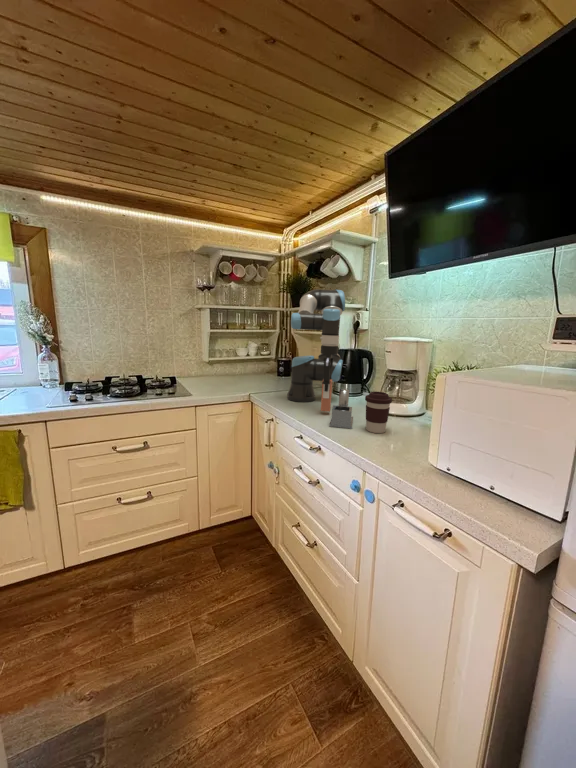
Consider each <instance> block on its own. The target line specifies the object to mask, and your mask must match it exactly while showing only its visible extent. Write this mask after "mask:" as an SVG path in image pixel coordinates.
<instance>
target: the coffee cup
mask: <svg viewBox="0 0 576 768" xmlns="http://www.w3.org/2000/svg"><path fill="white" fill-rule="evenodd" d="M364 400H365V402H366V404H365V423H366V424H365V429H366V431H367V432H369V433H374V434H384V433H385V432H386V428H387V423H388V420H389V414H390V408H391V407H390V404H392V401H393V399H392V397H391V396H389V394H388V393H386V392H385V391H384V392H383V391H370V392H369V394H367V395H365V398H364Z"/></svg>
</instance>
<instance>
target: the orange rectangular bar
mask: <svg viewBox="0 0 576 768" xmlns="http://www.w3.org/2000/svg"><path fill="white" fill-rule="evenodd" d="M322 382H323V381H321V384H322ZM323 386H324V384H322V385H321V401H320V411H321V412H330V411H331V410H332V409H331V408H332V391H333V382H332V379H330V390H329V399H328V398H323Z"/></svg>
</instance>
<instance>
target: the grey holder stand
mask: <svg viewBox="0 0 576 768" xmlns="http://www.w3.org/2000/svg"><path fill="white" fill-rule="evenodd" d="M349 396H350V390H349V389H345V388H342V389H339V393H338V397H339V398H338V405H334V404H333V406H332V409H331V418H330V420H329V424H328V425H329V427H331V428H341V429H350V430H352V429H353V424H354V423H353V422H354V416H352V412H353V406H349V398H350V397H349Z"/></svg>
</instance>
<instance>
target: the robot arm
mask: <svg viewBox="0 0 576 768" xmlns="http://www.w3.org/2000/svg"><path fill="white" fill-rule="evenodd" d="M345 297H346V296H345V292H344V291H343V290H341V289H318V288H317V289H312V290H310V291H307V292H306V293H304V294H303V295H302V296H301V298H300V300H299V309H298V311H297V312H293V313H291V318H290V327H291V329H292V330H298V331H301V330H304V331H305V330H310V331H321V336H320V337H319V339H320V341H321V346H320V354H318V356H317V357H318V358H315V356H314V355H300V356H294V357H293V358H292V360H291V375H290V377H291V379H290V386H289V389H288V392H287V397H286V398H287V400H289V401H291V402H296V403H297V402H298V403H305V402H306V403H309V402H314V401H315V400H316V393H315V389H314V385H313V383H314V381H315V382H316V381H317V382H321V384H324V386H323V398H328V399H329V390H330V379H332V383H333V382H335V383H336V382H338V381H340V379H341V373H342V367H343V362H344V360H343V359H341V356H340V354H339V353H338V352H339V341H340V323H341V315H342V314H343V312H345V310H346V298H345ZM314 311H321V313H314ZM322 381H323V382H322Z"/></svg>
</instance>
